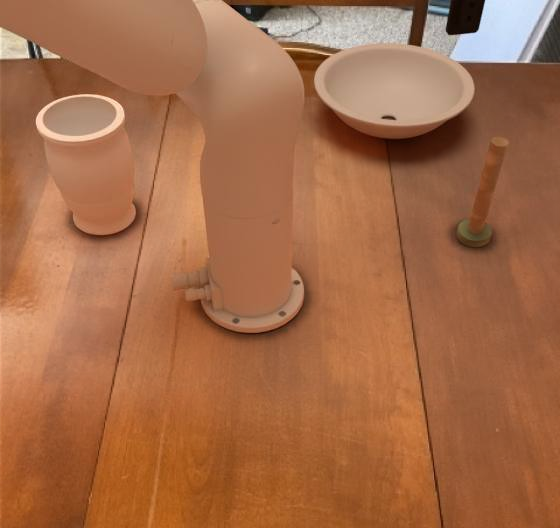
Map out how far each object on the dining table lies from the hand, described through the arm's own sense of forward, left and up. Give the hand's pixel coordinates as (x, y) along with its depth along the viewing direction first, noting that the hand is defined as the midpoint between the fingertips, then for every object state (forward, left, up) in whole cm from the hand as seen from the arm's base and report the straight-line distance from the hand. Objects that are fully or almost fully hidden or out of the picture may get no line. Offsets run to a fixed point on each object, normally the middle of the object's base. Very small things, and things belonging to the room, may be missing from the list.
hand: (443, 10), depth 69 cm
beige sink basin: (+6, +26, -28) cm, 39 cm away
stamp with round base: (+9, -3, -28) cm, 30 cm away
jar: (-39, +11, -28) cm, 50 cm away
